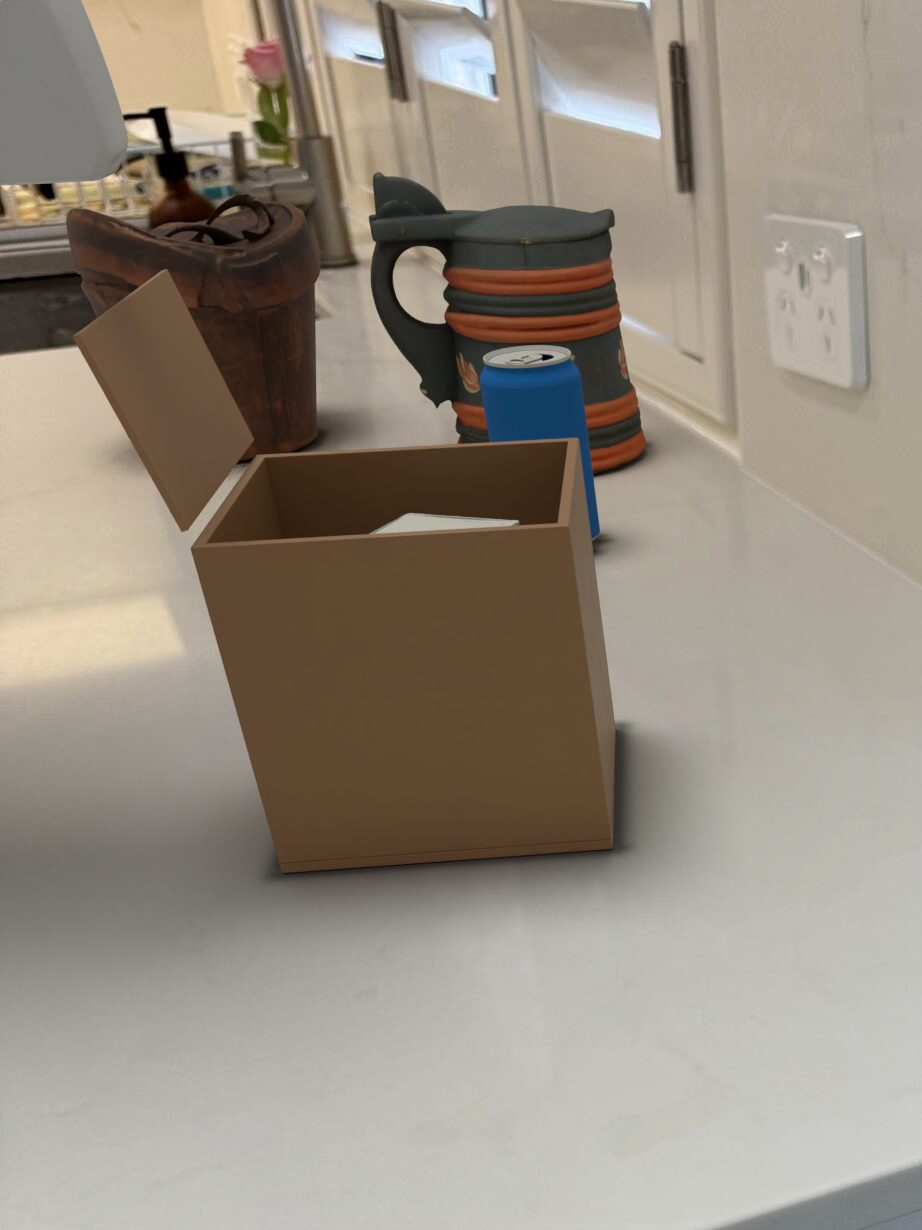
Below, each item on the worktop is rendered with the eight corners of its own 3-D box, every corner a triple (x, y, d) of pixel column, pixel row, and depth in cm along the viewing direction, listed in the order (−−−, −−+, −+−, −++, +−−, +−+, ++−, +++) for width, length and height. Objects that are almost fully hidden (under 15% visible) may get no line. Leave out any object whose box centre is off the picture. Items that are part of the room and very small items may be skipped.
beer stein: (418, 498, 118) (359, 188, 106) (398, 450, 129) (342, 164, 117) (664, 469, 123) (635, 169, 111) (624, 425, 134) (594, 148, 122)
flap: (188, 530, 62) (181, 532, 62) (254, 439, 73) (248, 441, 73) (79, 333, 58) (71, 336, 58) (167, 268, 69) (160, 270, 69)
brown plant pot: (388, 413, 139) (341, 176, 128) (303, 477, 123) (241, 213, 112) (195, 413, 141) (133, 179, 130) (87, 476, 125) (5, 216, 114)
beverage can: (620, 540, 109) (598, 349, 102) (556, 567, 105) (528, 370, 97) (552, 526, 112) (525, 340, 104) (487, 551, 108) (454, 359, 100)
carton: (281, 873, 72) (189, 547, 63) (328, 747, 83) (255, 454, 74) (612, 849, 73) (569, 525, 64) (615, 727, 84) (578, 437, 75)
